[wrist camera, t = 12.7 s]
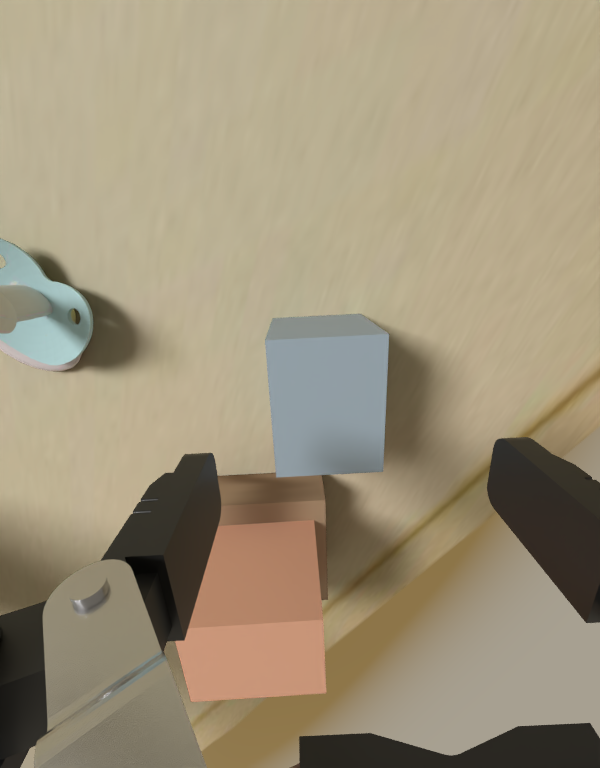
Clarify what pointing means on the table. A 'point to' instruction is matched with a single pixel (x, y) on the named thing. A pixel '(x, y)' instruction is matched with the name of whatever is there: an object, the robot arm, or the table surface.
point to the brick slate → (327, 394)
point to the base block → (277, 506)
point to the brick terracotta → (257, 616)
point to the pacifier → (40, 314)
